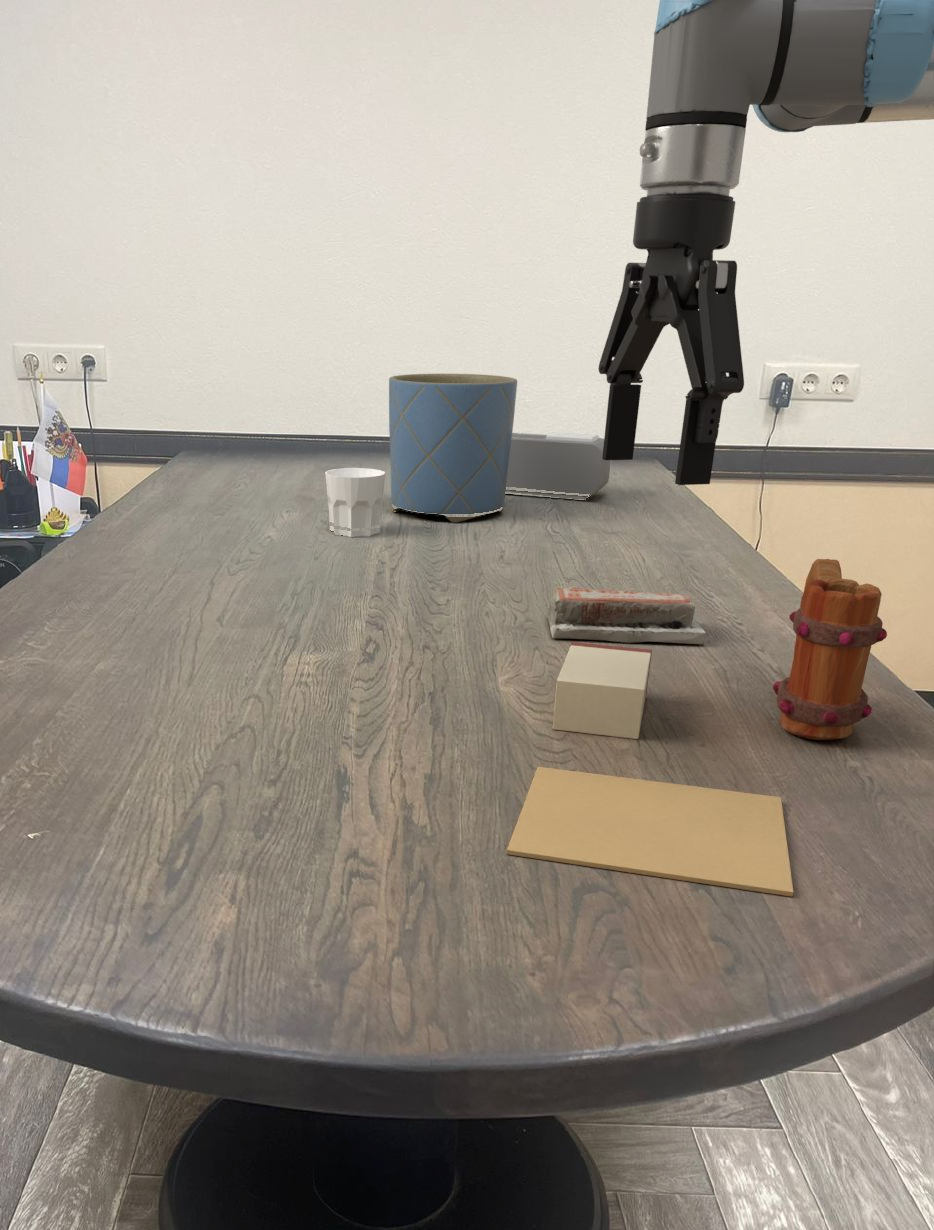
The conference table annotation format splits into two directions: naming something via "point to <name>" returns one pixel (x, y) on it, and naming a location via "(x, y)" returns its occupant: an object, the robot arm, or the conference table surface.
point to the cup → (355, 499)
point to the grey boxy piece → (623, 616)
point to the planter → (450, 442)
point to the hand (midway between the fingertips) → (652, 471)
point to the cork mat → (655, 830)
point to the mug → (830, 655)
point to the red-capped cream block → (602, 690)
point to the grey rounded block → (557, 464)
